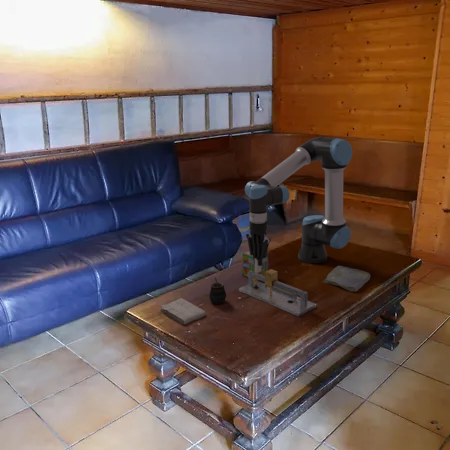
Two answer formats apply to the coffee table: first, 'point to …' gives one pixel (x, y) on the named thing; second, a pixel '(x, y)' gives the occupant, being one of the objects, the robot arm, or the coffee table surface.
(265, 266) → the chalk box
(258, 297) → the trammel beam
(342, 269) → the grey stone slab
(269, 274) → the block
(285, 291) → the combination wrench
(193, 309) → the washcloth
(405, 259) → the coffee table surface
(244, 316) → the coffee table surface
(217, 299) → the mate gourd
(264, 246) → the robot arm
